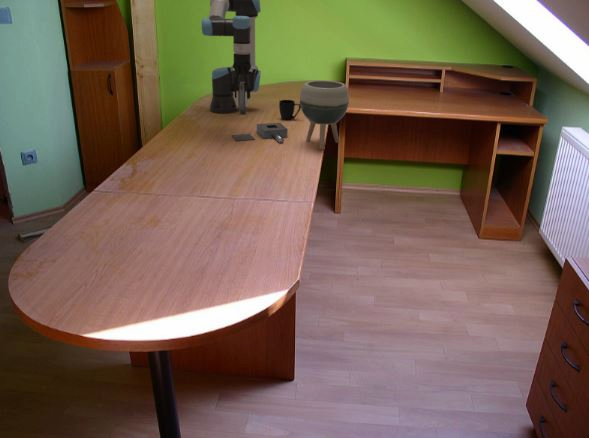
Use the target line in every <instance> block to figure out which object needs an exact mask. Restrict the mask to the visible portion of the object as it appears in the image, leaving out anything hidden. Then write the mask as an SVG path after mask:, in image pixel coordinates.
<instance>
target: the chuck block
mask: <svg viewBox="0 0 589 438" xmlns="http://www.w3.org/2000/svg"><path fill="white" fill-rule="evenodd" d="M256 133H257V134H258V135H259V136H260V137H261V138H262V139H264V140H266V139H267V140H268V139H275V140H276V141H277V142H278V143H279V144H283V143H284V142H285V140H284V138H288V128H287V127H286V126H284V124H282V123H281V122H271V123H270V122H268V123H267V122H266V123H256Z"/></svg>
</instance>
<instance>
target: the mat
mask: <svg viewBox="0 0 589 438" xmlns="http://www.w3.org/2000/svg"><path fill="white" fill-rule="evenodd" d="M231 137H232V138H233V139H234V141H235V142H244V141H245V142H246V141H247V142H248V141H254V140H256V139H255V138H254V137H253V135H252V134H250V133H239V134H238V133H237V134H231Z"/></svg>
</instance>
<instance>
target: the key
mask: <svg viewBox="0 0 589 438" xmlns="http://www.w3.org/2000/svg"><path fill="white" fill-rule="evenodd" d="M245 92H246V84H245V82H239V106H238V114H239V115H240V116H241V115H242V116H245V115H247V106H245Z"/></svg>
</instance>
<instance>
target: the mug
mask: <svg viewBox="0 0 589 438" xmlns="http://www.w3.org/2000/svg"><path fill="white" fill-rule="evenodd" d="M295 106H298V109H297V111H296V113H295ZM278 108H279V114H280V118H281V120H283V121H292V120H294V119H295V118H296V116H297V115H298V114H299V112H300V110H301V106H300V103H296V102H295V101H294V100H293V99H282V100H279V104H278ZM294 113H295V114H294Z"/></svg>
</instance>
